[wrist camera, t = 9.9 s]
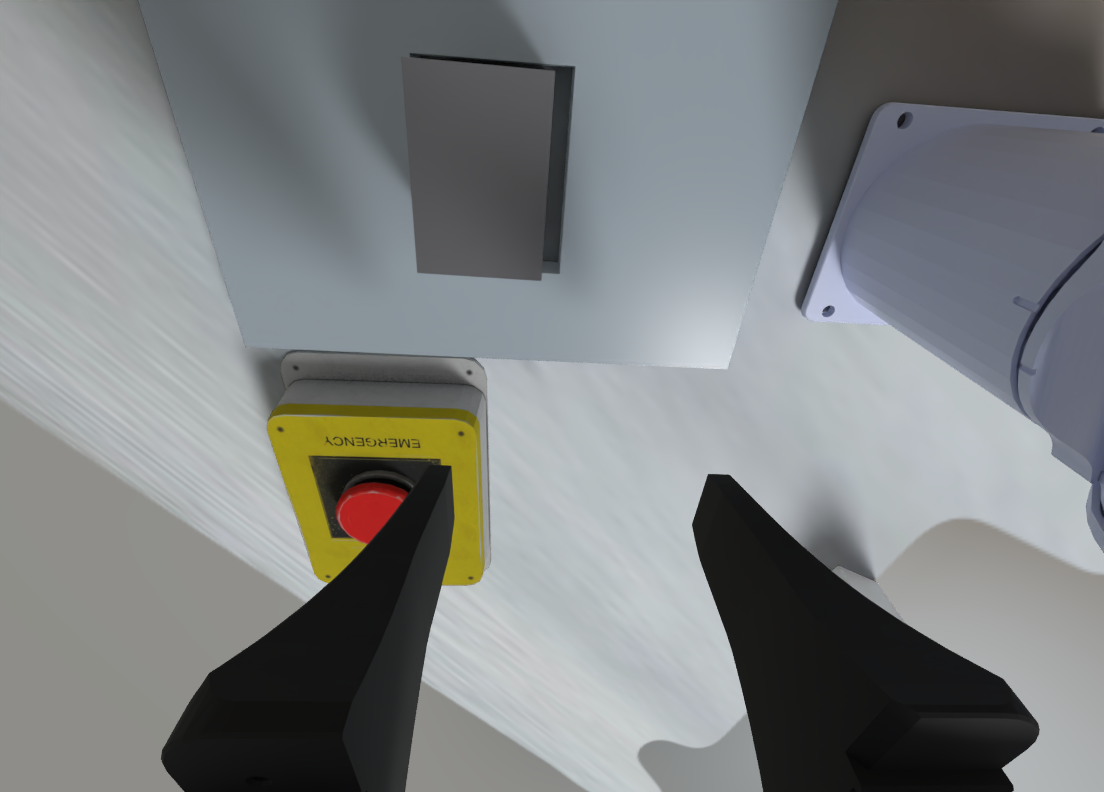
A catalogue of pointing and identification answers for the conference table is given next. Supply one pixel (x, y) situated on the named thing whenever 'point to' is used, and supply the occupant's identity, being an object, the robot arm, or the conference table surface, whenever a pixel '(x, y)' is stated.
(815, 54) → the port plate
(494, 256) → the grey block
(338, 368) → the emergency button
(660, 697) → the conference table surface
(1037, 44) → the conference table surface
